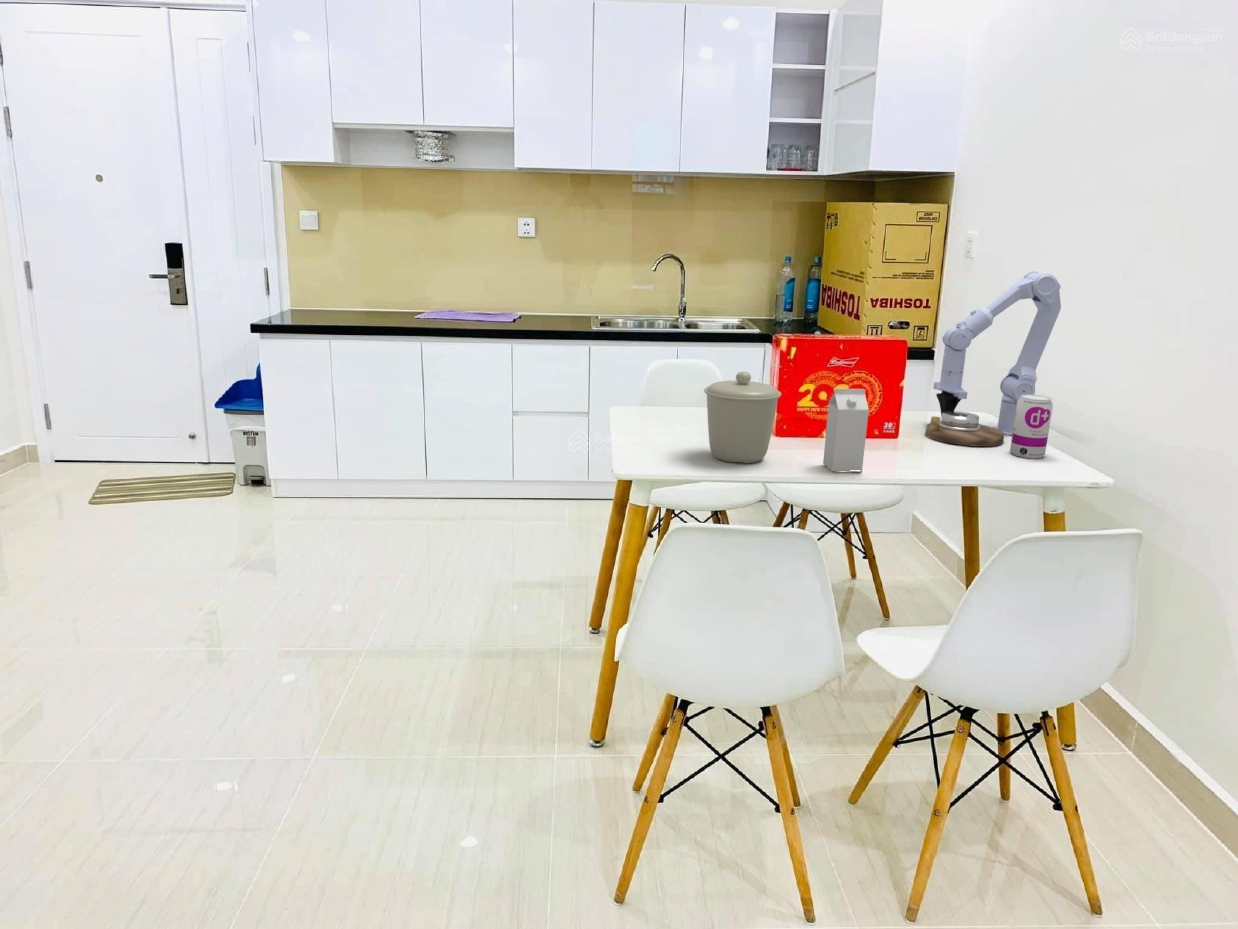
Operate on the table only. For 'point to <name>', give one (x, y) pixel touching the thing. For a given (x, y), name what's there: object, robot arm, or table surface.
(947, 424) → the cover
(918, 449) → the table surface
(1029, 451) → the supplement can
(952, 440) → the turntable
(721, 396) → the canister
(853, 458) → the milk carton
